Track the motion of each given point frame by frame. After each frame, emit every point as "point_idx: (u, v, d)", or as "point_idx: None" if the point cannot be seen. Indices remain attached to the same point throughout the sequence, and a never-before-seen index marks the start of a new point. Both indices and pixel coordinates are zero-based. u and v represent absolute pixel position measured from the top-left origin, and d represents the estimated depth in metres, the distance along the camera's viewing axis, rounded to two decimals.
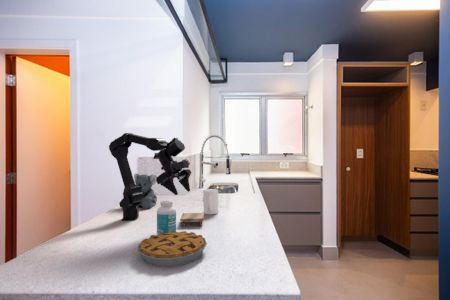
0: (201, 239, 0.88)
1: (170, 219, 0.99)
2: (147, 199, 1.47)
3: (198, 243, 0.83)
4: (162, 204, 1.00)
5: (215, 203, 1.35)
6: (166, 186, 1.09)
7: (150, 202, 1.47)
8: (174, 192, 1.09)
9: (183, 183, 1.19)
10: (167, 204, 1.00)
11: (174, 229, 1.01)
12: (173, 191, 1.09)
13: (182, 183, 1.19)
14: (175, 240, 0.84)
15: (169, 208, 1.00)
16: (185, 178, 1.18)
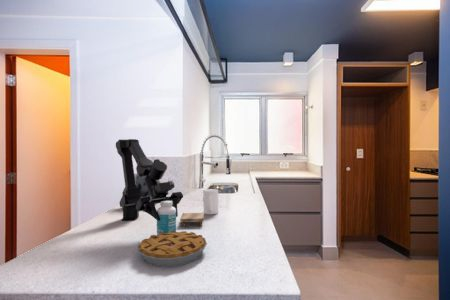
0: (201, 239, 0.88)
1: (170, 219, 0.99)
2: None
3: (198, 243, 0.83)
4: (162, 204, 1.00)
5: (215, 203, 1.35)
6: (149, 212, 1.01)
7: None
8: (156, 218, 0.99)
9: None
10: (167, 204, 1.00)
11: (174, 229, 1.01)
12: (155, 217, 0.99)
13: None
14: (175, 240, 0.84)
15: (169, 208, 1.00)
16: (173, 202, 1.06)
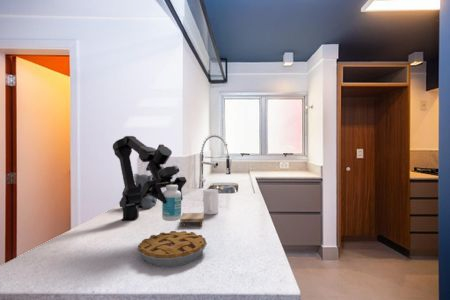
0: (201, 239, 0.87)
1: (176, 202, 1.01)
2: (147, 199, 1.47)
3: (198, 243, 0.83)
4: (168, 187, 1.02)
5: (215, 203, 1.35)
6: (155, 195, 1.02)
7: (150, 202, 1.47)
8: (163, 201, 1.01)
9: None
10: (173, 187, 1.02)
11: (179, 212, 1.03)
12: (162, 200, 1.01)
13: None
14: (175, 240, 0.84)
15: (175, 191, 1.02)
16: None
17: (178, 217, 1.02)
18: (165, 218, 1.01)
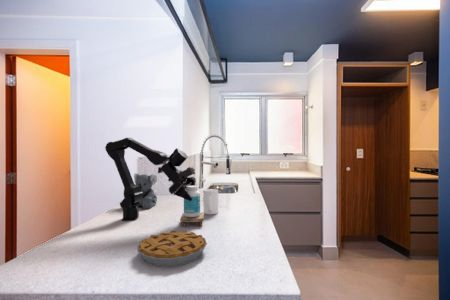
0: (201, 239, 0.87)
1: (199, 200, 1.17)
2: (147, 199, 1.47)
3: (198, 243, 0.83)
4: (191, 188, 1.16)
5: (215, 203, 1.35)
6: (179, 194, 1.13)
7: (150, 202, 1.47)
8: (188, 198, 1.13)
9: None
10: (195, 188, 1.17)
11: None
12: (187, 198, 1.13)
13: None
14: (175, 240, 0.84)
15: (196, 191, 1.17)
16: (192, 185, 1.24)
17: (199, 213, 1.18)
18: (190, 215, 1.15)
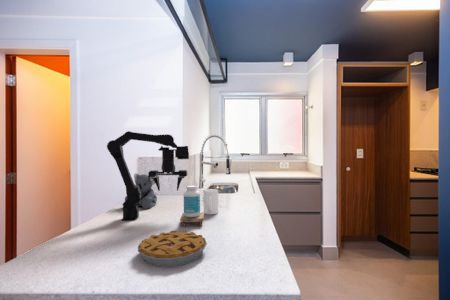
0: (201, 239, 0.87)
1: (198, 200, 1.17)
2: (147, 199, 1.47)
3: (198, 243, 0.83)
4: (191, 188, 1.16)
5: (215, 203, 1.35)
6: None
7: (150, 202, 1.47)
8: (178, 188, 1.31)
9: (158, 182, 1.29)
10: (195, 188, 1.17)
11: None
12: (178, 186, 1.30)
13: (157, 181, 1.29)
14: (175, 240, 0.84)
15: (196, 191, 1.17)
16: (158, 178, 1.31)
17: (199, 213, 1.18)
18: (190, 215, 1.15)
